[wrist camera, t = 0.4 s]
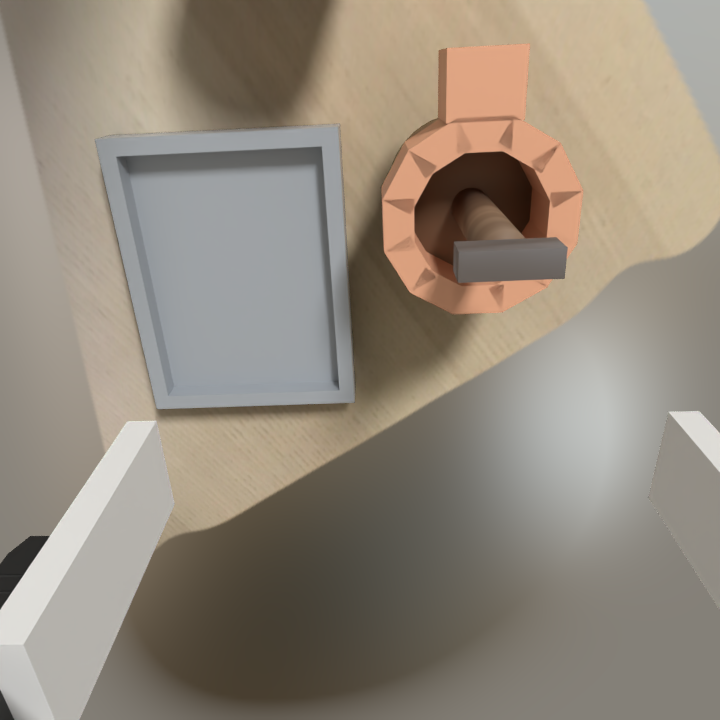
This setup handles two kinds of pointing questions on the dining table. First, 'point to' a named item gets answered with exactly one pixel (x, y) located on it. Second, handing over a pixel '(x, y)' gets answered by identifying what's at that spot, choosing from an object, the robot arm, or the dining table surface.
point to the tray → (236, 263)
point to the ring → (471, 135)
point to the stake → (484, 221)
